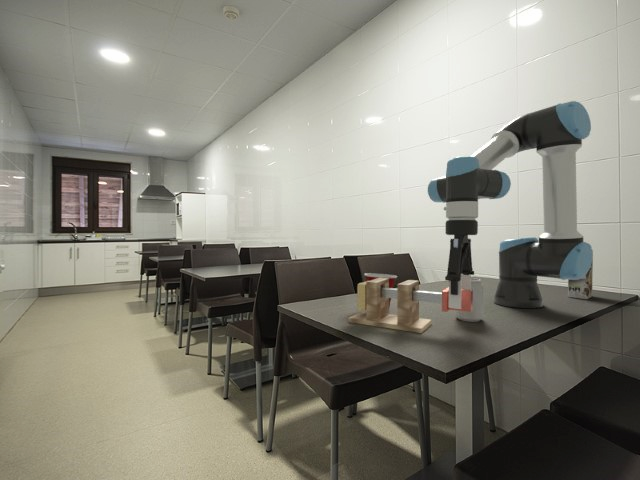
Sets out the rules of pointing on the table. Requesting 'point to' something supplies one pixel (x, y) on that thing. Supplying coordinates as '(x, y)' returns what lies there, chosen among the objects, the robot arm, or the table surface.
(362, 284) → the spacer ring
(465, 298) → the shaft
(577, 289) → the coffee box
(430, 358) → the table surface
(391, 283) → the plastic cup
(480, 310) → the can
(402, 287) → the bearing stand
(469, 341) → the table surface
